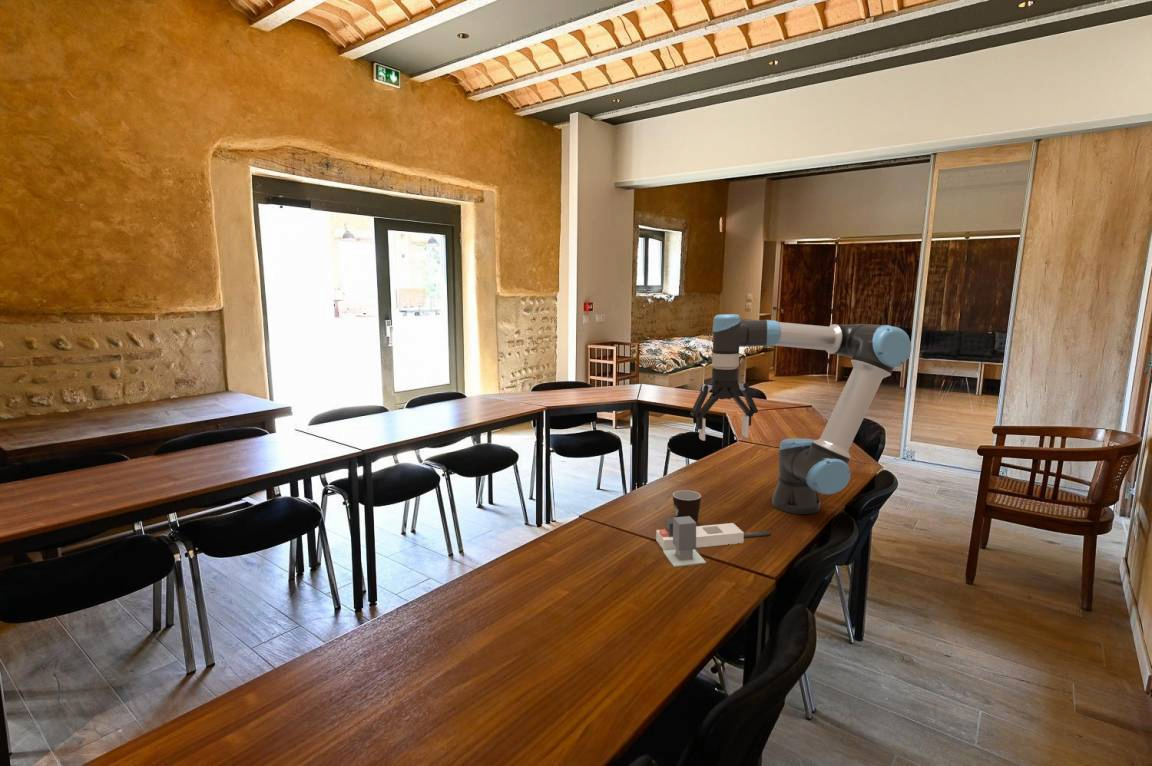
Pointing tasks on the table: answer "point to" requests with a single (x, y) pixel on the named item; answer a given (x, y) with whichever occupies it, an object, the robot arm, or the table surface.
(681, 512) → the coffee mug
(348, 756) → the table surface
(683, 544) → the block
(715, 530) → the strip
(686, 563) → the pad
